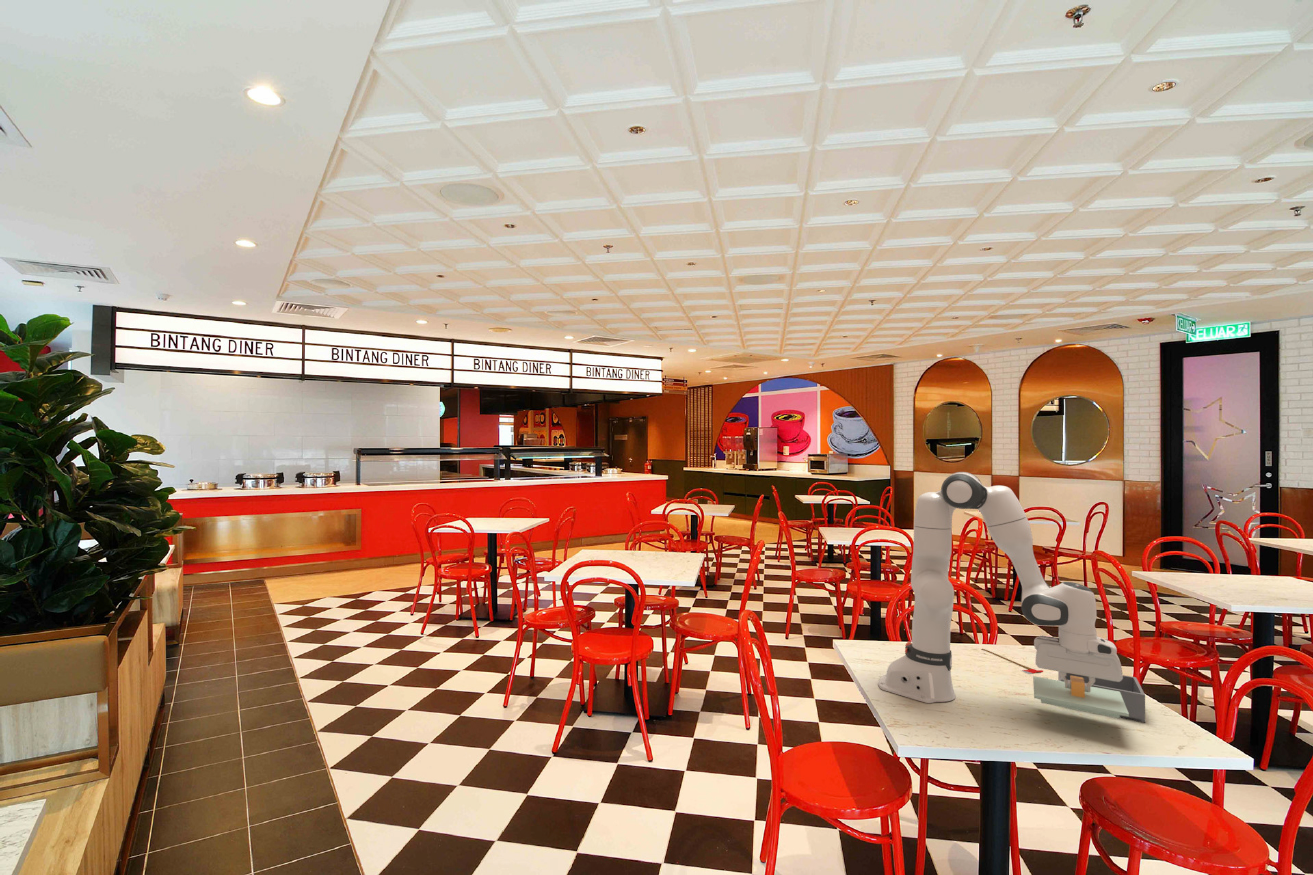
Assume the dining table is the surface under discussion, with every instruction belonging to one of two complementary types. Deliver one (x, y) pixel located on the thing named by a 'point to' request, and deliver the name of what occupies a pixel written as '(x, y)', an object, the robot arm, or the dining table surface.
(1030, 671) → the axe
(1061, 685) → the lid
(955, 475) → the robot arm
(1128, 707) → the tub
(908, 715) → the dining table surface
